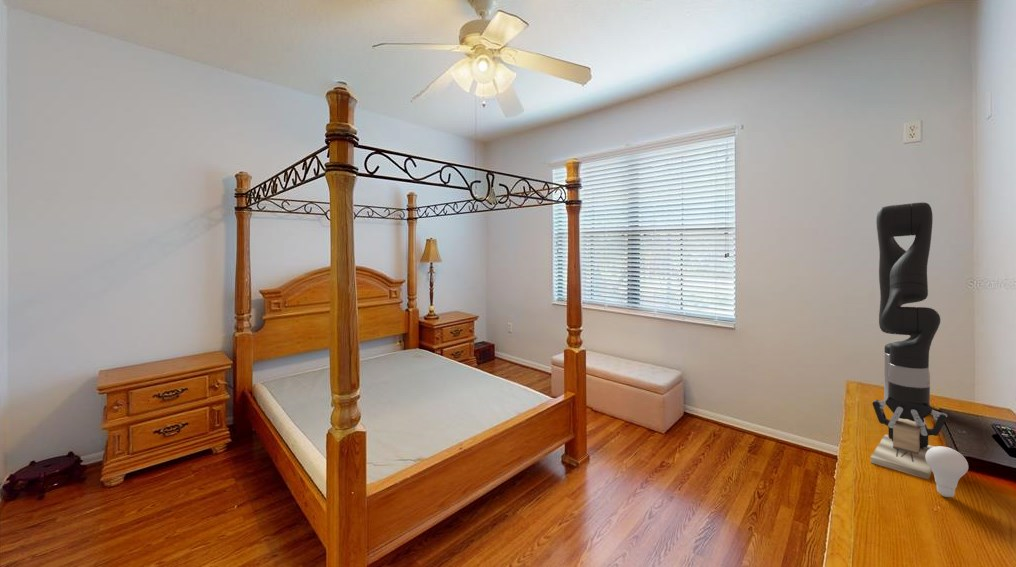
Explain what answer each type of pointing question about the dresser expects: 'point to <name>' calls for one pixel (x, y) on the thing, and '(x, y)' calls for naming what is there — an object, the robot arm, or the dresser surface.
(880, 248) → the robot arm
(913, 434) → the block
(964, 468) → the lightbulb
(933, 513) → the dresser surface
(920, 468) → the board
